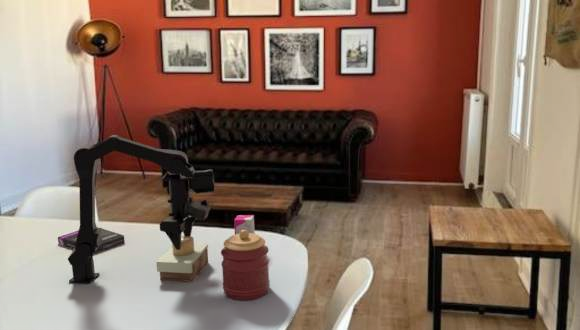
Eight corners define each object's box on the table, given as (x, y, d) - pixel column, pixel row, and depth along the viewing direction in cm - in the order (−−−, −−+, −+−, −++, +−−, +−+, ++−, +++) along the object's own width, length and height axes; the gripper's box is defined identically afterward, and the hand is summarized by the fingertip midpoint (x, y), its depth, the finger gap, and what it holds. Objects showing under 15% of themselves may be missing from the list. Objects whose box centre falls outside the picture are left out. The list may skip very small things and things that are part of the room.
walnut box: (193, 281, 159) (191, 265, 158) (160, 279, 160) (159, 263, 159) (208, 262, 172) (207, 247, 171) (178, 261, 174) (176, 246, 173)
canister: (245, 277, 161) (243, 219, 157) (279, 288, 153) (277, 228, 149) (213, 292, 151) (209, 231, 147) (247, 305, 143) (244, 241, 139)
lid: (191, 273, 157) (190, 263, 156) (157, 271, 158) (156, 261, 158) (208, 253, 172) (208, 244, 171) (177, 252, 173) (176, 243, 173)
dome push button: (198, 251, 165) (197, 238, 164) (181, 257, 160) (180, 244, 160) (185, 246, 169) (184, 234, 168) (168, 252, 165) (167, 239, 164)
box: (58, 246, 193) (90, 256, 181) (57, 236, 193) (88, 246, 181) (93, 234, 204) (125, 243, 192) (92, 225, 203) (124, 234, 191)
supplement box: (255, 247, 185) (254, 214, 182) (252, 253, 179) (251, 220, 176) (238, 246, 185) (237, 214, 183) (235, 253, 179) (233, 220, 177)
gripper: (195, 203, 151) (198, 257, 154) (215, 186, 169) (218, 235, 172) (157, 202, 153) (161, 255, 156) (181, 186, 171) (184, 233, 174)
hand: (183, 244), depth 164 cm, fingers open, 8 cm apart
